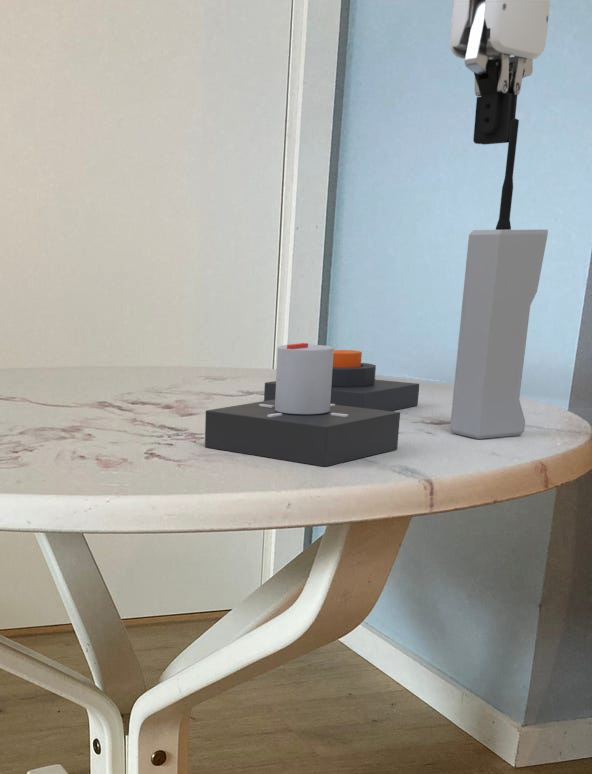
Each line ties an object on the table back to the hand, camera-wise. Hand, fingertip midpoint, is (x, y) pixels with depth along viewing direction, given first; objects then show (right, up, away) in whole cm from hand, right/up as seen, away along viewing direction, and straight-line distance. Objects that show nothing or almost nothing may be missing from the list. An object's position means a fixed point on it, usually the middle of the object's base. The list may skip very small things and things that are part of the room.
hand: (492, 142), depth 103 cm
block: (-12, -22, +10) cm, 27 cm away
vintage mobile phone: (-3, -29, -7) cm, 30 cm away
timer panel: (-20, -31, -13) cm, 39 cm away
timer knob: (-20, -28, -14) cm, 37 cm away
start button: (-12, -19, +9) cm, 24 cm away
